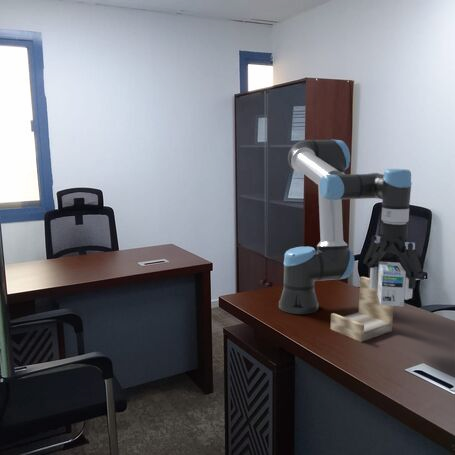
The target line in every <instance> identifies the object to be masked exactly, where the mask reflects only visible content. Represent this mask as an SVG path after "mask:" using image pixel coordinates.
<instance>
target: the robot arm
mask: <svg viewBox="0 0 455 455" xmlns="http://www.w3.org/2000/svg"><path fill="white" fill-rule="evenodd" d="M287 162H288V165H289V166H290V168H291V169H292V170H294V171H295V172H296V173H298V174H303V175H305V176H306V177H307V178H308V179H310V180H311V181H312V182H314V183H315V184H316V185H317V186H318V207H319V208H318V211H319V213H318V214H319V233H320V234H319V235H320V241H319V242H318V244H317V245H316V249H315V248H314V247H312V246H297V247H292V248H289V249H288V250H286V251H285V253H284V255H283V256H284V259H283V289H282V293H281V296H280V298H279V300H278V309H280V310H281V311H282V312H285V313H288V314H294V315H309V314H314V313H316V312H318V310H319V300H318V298H317V294H316V291H315V282H317V281H318V282H320V281H330V280H331V281H332V280H335V281H339V280H342V279H343V280H345V279H347V278H349V277H350V276H351V275H352V273H353V270H354V267H355V255H354V253H353V250H352V249H350V248H349V247H348V243H346V242H345V241H344V230H343V204H342V200H354V199H355V200H359V199H360V200H361V199H362V200H364V199H365V200H366V199H379V200H382V201H381V202H382V203H381V221H382V222H381V223H380V231H379V232H380V235H381V236H380V235H379V234H377V235H373V236H371V239H370V240H371V241H370V245H369V247H368V250H367V251H366V254H365V256H364V259H363V262H362V263H363V264H364V265H366V266H367V267H368V274H367V275H368V278H370V285H369V288H371V289H372V288H376V287H377V280H378V262H381V260H382V259H383V257H384V256H385V255H386V253H388V254H389V253H390V254H392V255H396V257H397V258H398V259H399V260H400V264H401V266H402V267H403V269H404V270H405V271H406V279H405V293H404V300H406V301H408V300H409V299H412V298H413V289H415V288H416V282H417V280H416V279H417V278H419V277H422V276H424V272H423V270H422V266H421V262H420V259H419V254H418V251H417V247H418V246H417V244H418V243H417V242H416V241H413V242H408V240H407V237H408V234H409V232H408V231H409V230H408V229H409V224H408V222H409V218H410V204H411V202H410V201H411V194H412V193H411V192H412V185H413V184H412V172H411V171H410V169H403V168H387V169H385V170H384V173H383V174H382V173H379V172H370V173H359V174H357V173H356V174H354V173H353V174H352V173H351V174H346V173H345V171H346V170H347V169H348V168H349V167H350V163H351V154H350V150H349V147H348V145H347V144H346V142H345V141H343V140H340V139H304V140H300V141H298V142H296V143H295V144H293V146H292V147H290V150H289V151H288V155H287ZM379 245H381V246H380V247H379ZM378 247H379V248H378ZM377 249H378V251H377Z"/></svg>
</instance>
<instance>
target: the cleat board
mask: <svg viewBox="0 0 455 455" xmlns="http://www.w3.org/2000/svg"><path fill="white" fill-rule="evenodd" d="M377 284H378V279H377ZM369 285H370V277H366V276H360V277H359V294H358V296H359V297H358V298H359V299H358V312H355V313H352V314H349V315H345V316H342V315H340V314H337V313H335V312H333V313H330V330H332V331H333V332H336V333H338V334H341V335H344V336H345V337H346V336H347V337H349V338H351V339H353V340H355V341H358V342H360V343H362V342H364V341H368V340H370V339H373V338H376V337H379V336H381V335H385V334H386V333H391V332H392V331H393V318H394V315H393V314H394V306H388V305H381V304H380V301H379V298H378V296H377V287H376V288H372V289H371V288H369Z"/></svg>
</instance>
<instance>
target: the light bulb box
mask: <svg viewBox="0 0 455 455" xmlns="http://www.w3.org/2000/svg"><path fill="white" fill-rule="evenodd" d="M377 267H378V276H377V280H378V284H377V296H378V298H379V301H380V304H381V305H388V306H393V307H404V305H405V299H404V294H405V280H406V277H407V273H406V271H405V269H404V267H403V265H402V263H401V262H393V261H392V262H391V261H379V262H378V263H377Z"/></svg>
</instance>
